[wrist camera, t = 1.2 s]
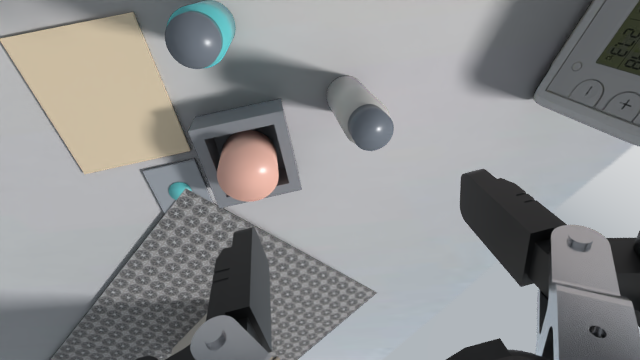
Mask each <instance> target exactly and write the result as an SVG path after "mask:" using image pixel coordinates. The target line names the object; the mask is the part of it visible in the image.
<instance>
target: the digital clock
mask: <svg viewBox="0 0 640 360" xmlns="http://www.w3.org/2000/svg"><path fill="white" fill-rule="evenodd" d="M550 67H551V68H550V70H549V71H548V73H547V74H546V76H545V77H544V79H543V81H542V82H541V84H540V85H539V87H538V88H537V90H536V92H535V94H534V100H535V102H536V103H537V104H539V105H541V106H543V107H545V108H548V109H550V110H553V111H555V112H557V113H560V114H562V115H564V116H567V117H569V118H571V119H574V120H576V121H578V122H581V123H583V124H586V125H588V126H590V127H593V128H595V129H597V130H600V131H602V132H604V133H607V134H609V135H611V136H614V137H616V138H619V139H621V140H623V141H626V142H629V143H631V144H634V145H637V146H640V0H593V1H592V3H591V4H590V6H589V7H588V9H587V11H586V12H585V14H584V15H583V17H582V18H581V20H580V21H579V23H578V24H577V26H576V27H575V29H574V30H573V32H572V33H571V35H570V37H569V38H568V40H567V41H566V43H565V44H564V46H563V47H562V49H561V50H560V52H559V53H558V55H557V56H556V58H555V59H554V61H553V63H552V64H551V66H550Z"/></svg>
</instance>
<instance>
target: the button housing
mask: <svg viewBox="0 0 640 360" xmlns="http://www.w3.org/2000/svg"><path fill="white" fill-rule="evenodd" d="M246 130H254V131H258V132H260V133H263V134H264V135H266V136H267V137H268V138H269V139H270V140H271V141H272V142H273V144H274V146H275V148H276V152H277V162H278V173H279V178H278V183H277V185H276V187H275V189H274V190H273V191H272V193H270V194H269V195H268V196H267V197H272V196H276V195H280V194H285V193H289V192H293V191H298V190H302V188H301V183H300V178H299V173H298V169H297V165H296V160H295V156H294V152H293V148H292V144H291V139H290V135H289V131H288V127H287V122H286V118H285V114H284V110H283V106H282V101H281V99H276V100H272V101H267V102H262V103H258V104H253V105H248V106H244V107H239V108H235V109H230V110H225V111H221V112H216V113H211V114H207V115H202V116H197V117H195V118H194V120H193V122H192V124H191V126H190V128H189V130H188V133H189V135H190V138H191V140H192V143H193V145H194V147H195V150H196V152H197V155H198V157H199V160H200V162H201V165H202V167H203V169H204V172H205V174H206V177H207V179H208V182H209V184H210V187H211V189H212V191H213V194H214V196H215V199H216V201H217V204H218V206H219V208H223V207H228V206H232V205H237V204H241V203H245V202H246V201H240V200H236V199H234V198H232V197H230V196H229V195H227V194H226V193H225V192H224V191H223V190H222V189H221V187H220V185H219V183H218V180H217V169H218V165H219V161H220V156H221V152H222V148H223V145H224V143H225V142H226V140H227V139H228V138H229V137H230V136H231V135H233V134H234V133H237V132H241V131H246ZM267 197H265V198H267Z"/></svg>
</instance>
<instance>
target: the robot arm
mask: <svg viewBox="0 0 640 360" xmlns="http://www.w3.org/2000/svg"><path fill="white" fill-rule="evenodd" d="M460 210H461V214H462V217H463V219H464V220H465V222H466V223H467V224H468V225H469V227H470V228H471V229H472V230H473V231H474V232H475V234H476V235H477V236H478V237H479V238H480V239H481V241H482V242H483V243H484V244H485V245H486V246H487V248H488V249H489V250H490V251H491V252H492V254H493V255H494V256H495V257H496V258H497V259H498V261H499V262H500V263H501V264H502V265H503V266H504V268H505V269H506V270H507V271H508V272H509V273H510V275H511V276H512V277H513V278H514V279H515V280H516V282H517V283H518V284H519V285H520V286H521V287H522V286H525V285H529V284H533V283H535V285H536V286H537V287H538V288H539V290H538V298H537V302H538V303H537V344H536V353H535V354H532V353H528V352H523V351H517V350H507V348H506V347H505V346H504V344H503V343H502V341H501V339H500V338H499V339H496V340H493V341H488V342H485V343H481V344H478V345H474V346H470V347H466V348H464V349H462V350H461V351H459V352H458V353H456V354H454V355H453V356H451V357H450V358H448V359H446V360H640V334H639V329H638V326H639V327H640V231H639V233H638V236H637V238H605V237H604V236H603V235H602V234H600V233H599V232H597V231H595V230H593V229H590V228H587V227H584V226H579V225H567V224H565V223H564V222H563V221H561V220H560V219H559V218H558V217H557V216H555V215H554V214H553V213H551V212H550V211H549V210H548V209H546V208H545V207H544V206H543V205H541V204H540V203H539V202H538V201H535V200H534V198H533V197H531V196H530V195H529V194H526V192H525V191H524V190H522V189H521V188H520V187H519V186H517V185H516V184H514V183H512V182H510V181H507V180H505V179H502V178H499V179H496V178H495V177H494V176H492V175H491V174H490V173H489V172H488V171H486V170H485V169H480V170H476V171H472V172H469V173H465V174H463V175H462V176H461V190H460ZM212 282H213V284H212V286H211V292H210V299H209V305H208V311H207V317H206V322H205V323H203V324H202V325H201V326H200V327H199V328H198V330H197V331H196V332H195V334H194V336H193V338H192V340H191V344H190V345H188V346H187V347H186V348H184V349H182V350H181V351H179V352H177V353H175V354H174V355H172V356H170V357H168V358H167V359H165V360H282V359H281V358H279V357H278V356H276V357H275V358H274V357H272V356H271V355H270V354H269V353H270V352H272V336H271V302H270V271H269V264H268V260H267V257H266V254H265V252H264V249H263V246H262V244H261V241H260V239H259V236H258V234H257V231H256V229H255V228H254V227H251V228H247V229H244V230H240V231H236V232H234V234H233V241H232V247H228V248H224V249H223V250H222V251H221V253H220V254H219V256H218V258H217V259H216V262H215V268H214V274H213V280H212ZM135 360H158V359H157V358H156V357H153V356H144V357H140V358H138V359H135Z"/></svg>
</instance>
